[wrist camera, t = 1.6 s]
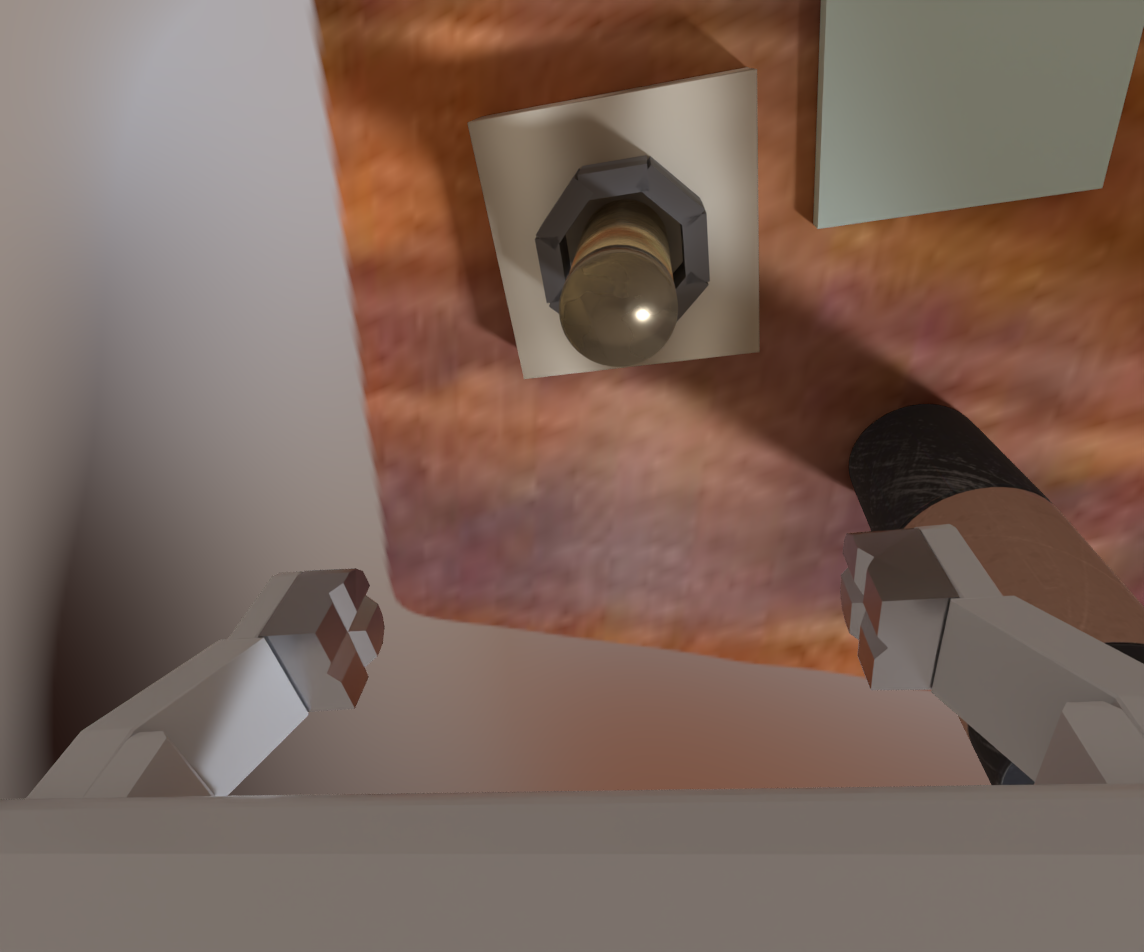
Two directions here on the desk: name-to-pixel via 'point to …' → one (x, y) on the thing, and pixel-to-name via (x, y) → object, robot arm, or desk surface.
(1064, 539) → the travel mug
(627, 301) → the brass peg
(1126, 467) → the desk surface
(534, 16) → the desk surface
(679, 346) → the beige base with ring
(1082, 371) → the desk surface
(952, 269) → the desk surface
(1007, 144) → the sage pad
